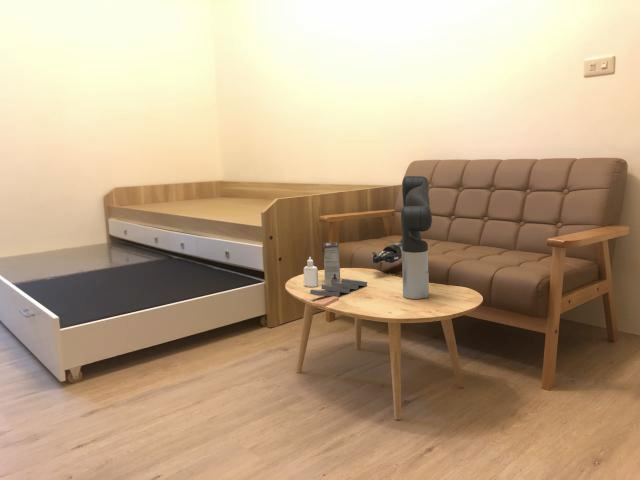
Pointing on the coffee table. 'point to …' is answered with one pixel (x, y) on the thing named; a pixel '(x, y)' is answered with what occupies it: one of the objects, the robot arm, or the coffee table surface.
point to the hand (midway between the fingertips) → (374, 260)
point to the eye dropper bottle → (310, 274)
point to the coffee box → (331, 262)
